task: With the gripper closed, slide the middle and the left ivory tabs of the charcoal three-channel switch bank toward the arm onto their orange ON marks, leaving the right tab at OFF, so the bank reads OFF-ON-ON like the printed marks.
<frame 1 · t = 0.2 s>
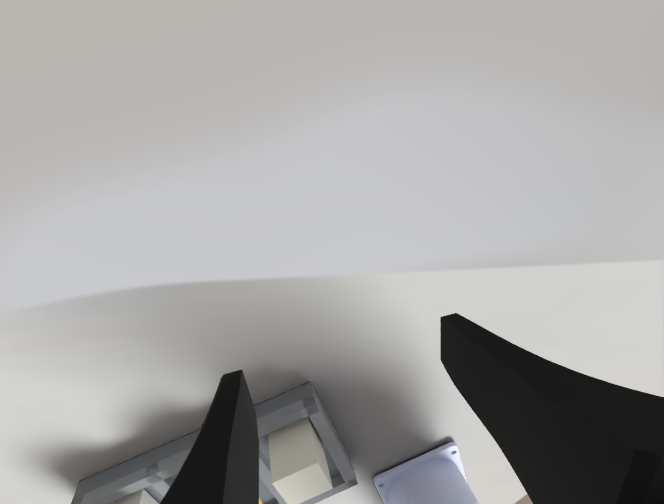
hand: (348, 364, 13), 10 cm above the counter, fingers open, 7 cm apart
tab 1: (299, 460, 25), point 3 cm above the counter, slide at 0.0 cm
switch bank: (229, 469, 28), on the counter
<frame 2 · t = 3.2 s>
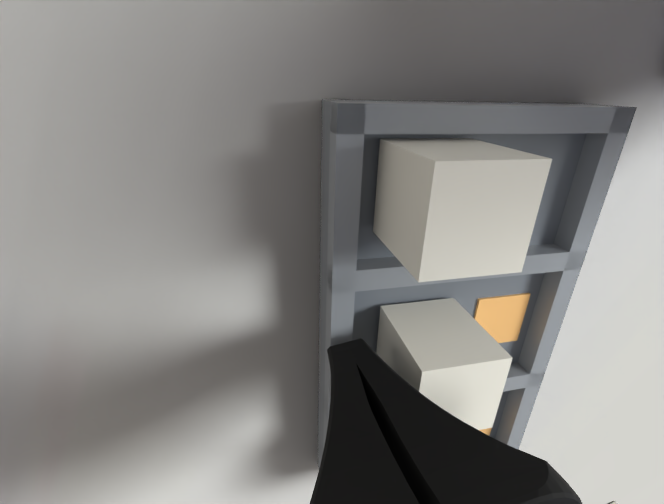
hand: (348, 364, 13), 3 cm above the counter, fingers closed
tab 1: (446, 201, 10), point 3 cm above the counter, slide at 0.0 cm
switch bank: (430, 310, 16), on the counter
tab 2: (433, 363, 13), point 3 cm above the counter, slide at 0.5 cm, touching gripper
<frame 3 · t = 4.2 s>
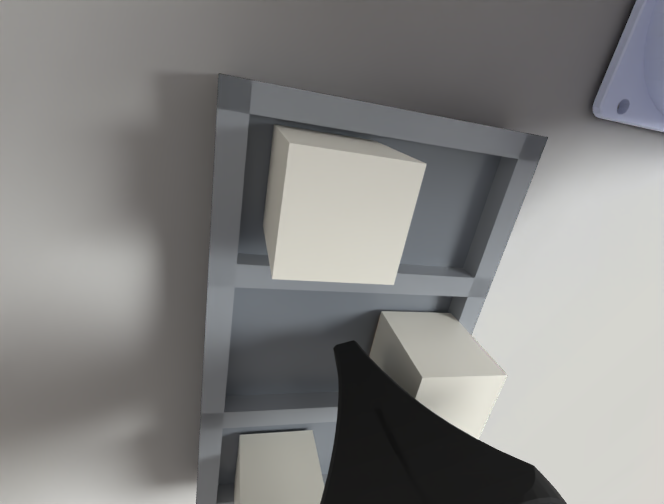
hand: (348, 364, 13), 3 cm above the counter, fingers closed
tab 1: (330, 199, 10), point 3 cm above the counter, slide at 0.0 cm
tab 3: (276, 498, 14), point 3 cm above the counter, slide at 0.0 cm
switch bank: (334, 322, 15), on the counter
tab 2: (427, 374, 13), point 3 cm above the counter, slide at 4.7 cm, touching gripper, switch bank
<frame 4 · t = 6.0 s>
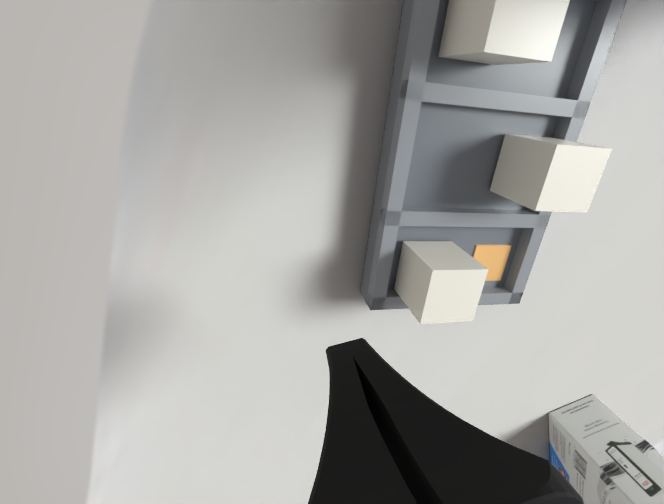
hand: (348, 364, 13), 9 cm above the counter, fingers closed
tab 1: (500, 17, 15), point 3 cm above the counter, slide at 0.0 cm
ink box: (567, 429, 35), on the counter
tab 3: (437, 279, 20), point 3 cm above the counter, slide at 0.0 cm
switch bank: (465, 156, 21), on the counter
tab 2: (544, 171, 18), point 3 cm above the counter, slide at 4.6 cm
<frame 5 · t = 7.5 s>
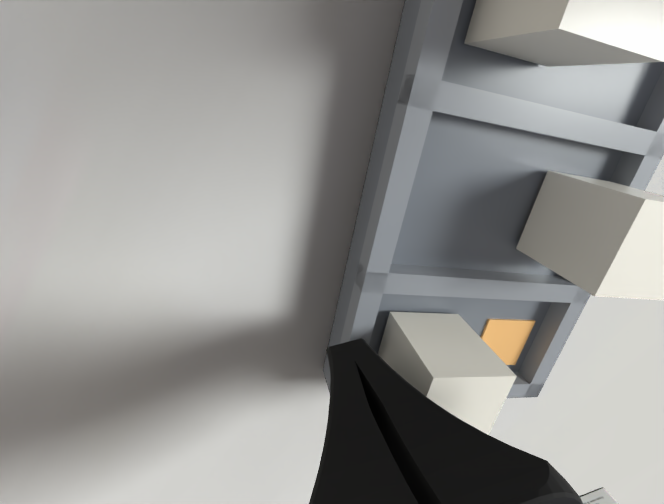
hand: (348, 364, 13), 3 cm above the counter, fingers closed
tab 3: (435, 374, 13), point 3 cm above the counter, slide at 0.1 cm, touching gripper
switch bank: (484, 196, 14), on the counter
tab 2: (604, 232, 12), point 3 cm above the counter, slide at 4.6 cm
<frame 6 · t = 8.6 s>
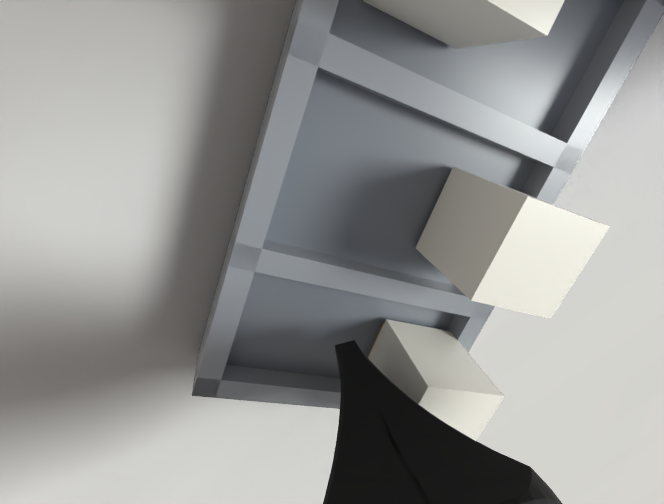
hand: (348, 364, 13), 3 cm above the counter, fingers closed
tab 3: (423, 387, 13), point 3 cm above the counter, slide at 4.7 cm, touching gripper, switch bank
switch bank: (391, 189, 13), on the counter
tab 2: (499, 238, 11), point 3 cm above the counter, slide at 4.6 cm
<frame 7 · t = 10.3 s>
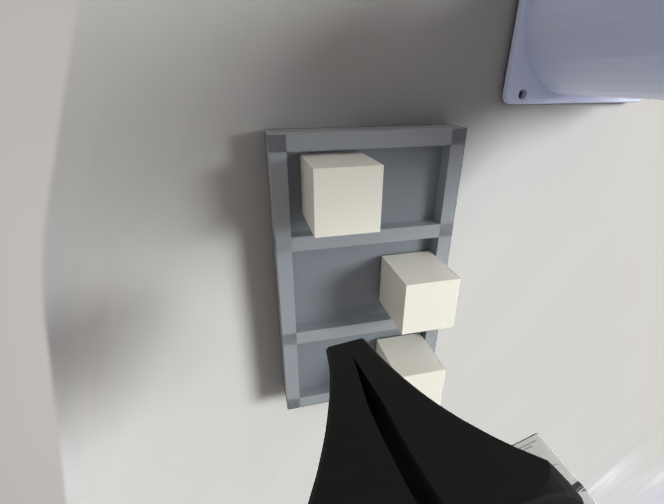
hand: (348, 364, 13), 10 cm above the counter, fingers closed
tab 1: (338, 191, 17), point 3 cm above the counter, slide at 0.0 cm
ink box: (520, 464, 37), on the counter
tab 3: (407, 372, 23), point 3 cm above the counter, slide at 4.6 cm
switch bank: (356, 269, 23), on the counter
tab 2: (416, 290, 21), point 3 cm above the counter, slide at 4.6 cm
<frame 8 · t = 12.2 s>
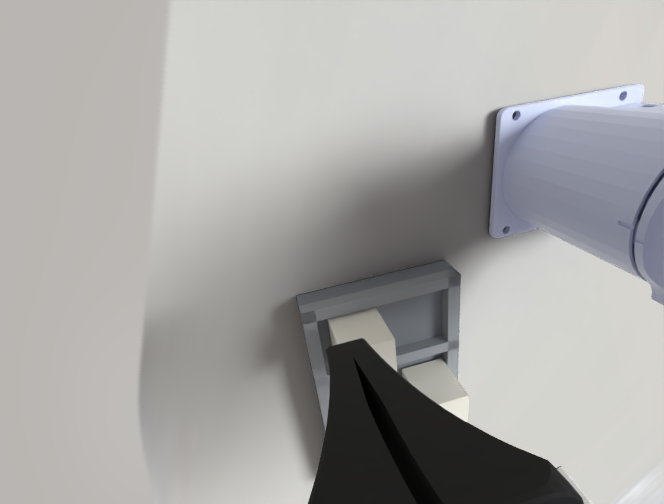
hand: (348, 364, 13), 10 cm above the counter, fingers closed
tab 1: (361, 346, 22), point 3 cm above the counter, slide at 0.0 cm
ink box: (549, 491, 41), on the counter
switch bank: (382, 374, 27), on the counter
tab 2: (433, 397, 25), point 3 cm above the counter, slide at 4.6 cm
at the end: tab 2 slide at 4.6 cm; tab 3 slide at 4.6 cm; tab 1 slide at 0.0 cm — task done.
